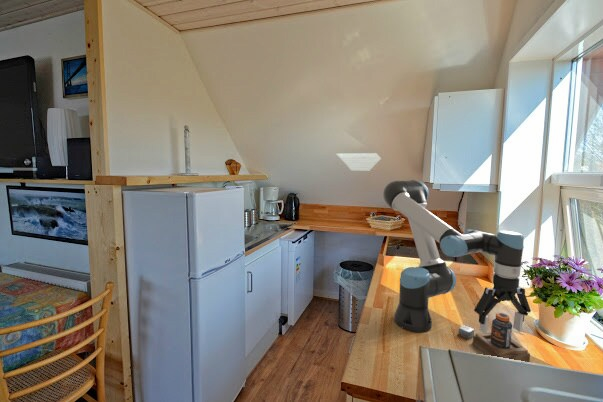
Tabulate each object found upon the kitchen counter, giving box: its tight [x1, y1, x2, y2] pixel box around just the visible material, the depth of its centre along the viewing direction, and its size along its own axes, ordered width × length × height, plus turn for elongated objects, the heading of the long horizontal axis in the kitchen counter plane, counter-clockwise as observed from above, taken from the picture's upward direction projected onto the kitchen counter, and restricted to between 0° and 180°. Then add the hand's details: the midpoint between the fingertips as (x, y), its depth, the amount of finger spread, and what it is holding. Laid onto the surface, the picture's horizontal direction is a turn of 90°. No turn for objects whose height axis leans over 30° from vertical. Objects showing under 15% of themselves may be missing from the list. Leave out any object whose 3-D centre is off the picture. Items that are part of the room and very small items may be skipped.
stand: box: [472, 332, 531, 363], centre depth 102 cm, size 12×12×4 cm
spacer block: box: [458, 324, 475, 340], centre depth 112 cm, size 4×4×3 cm
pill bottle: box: [490, 312, 513, 349], centre depth 101 cm, size 6×6×11 cm
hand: (500, 330), depth 102 cm, fingers open, 13 cm apart
